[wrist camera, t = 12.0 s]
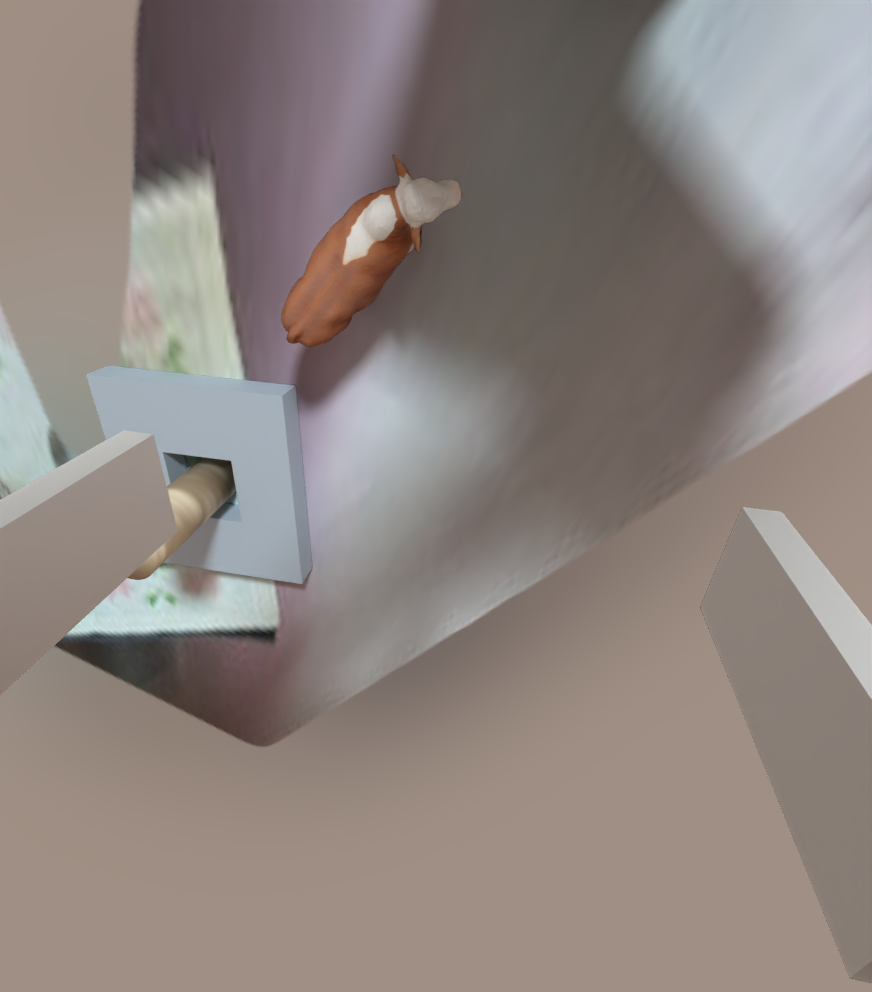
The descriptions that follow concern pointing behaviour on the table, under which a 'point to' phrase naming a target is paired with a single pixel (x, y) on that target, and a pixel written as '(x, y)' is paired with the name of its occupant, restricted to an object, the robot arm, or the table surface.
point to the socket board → (227, 436)
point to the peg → (192, 506)
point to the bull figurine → (362, 255)
